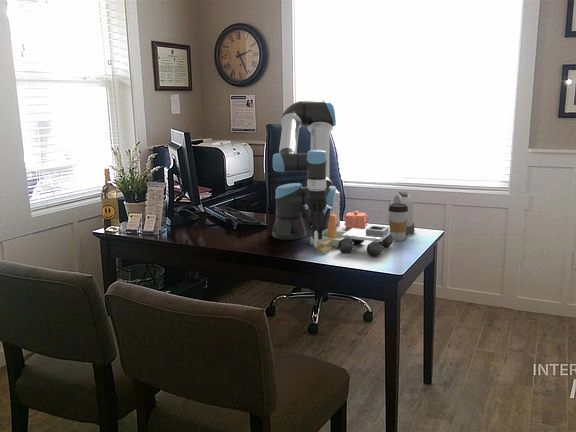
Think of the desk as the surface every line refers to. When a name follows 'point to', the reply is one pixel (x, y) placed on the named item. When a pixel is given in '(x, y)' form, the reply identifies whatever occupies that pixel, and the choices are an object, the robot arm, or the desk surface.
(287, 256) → the desk surface
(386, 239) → the trolley
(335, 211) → the candy box
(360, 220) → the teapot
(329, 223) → the pin
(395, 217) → the coffee cup
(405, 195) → the grey rounded piece
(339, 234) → the tray
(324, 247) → the chock
